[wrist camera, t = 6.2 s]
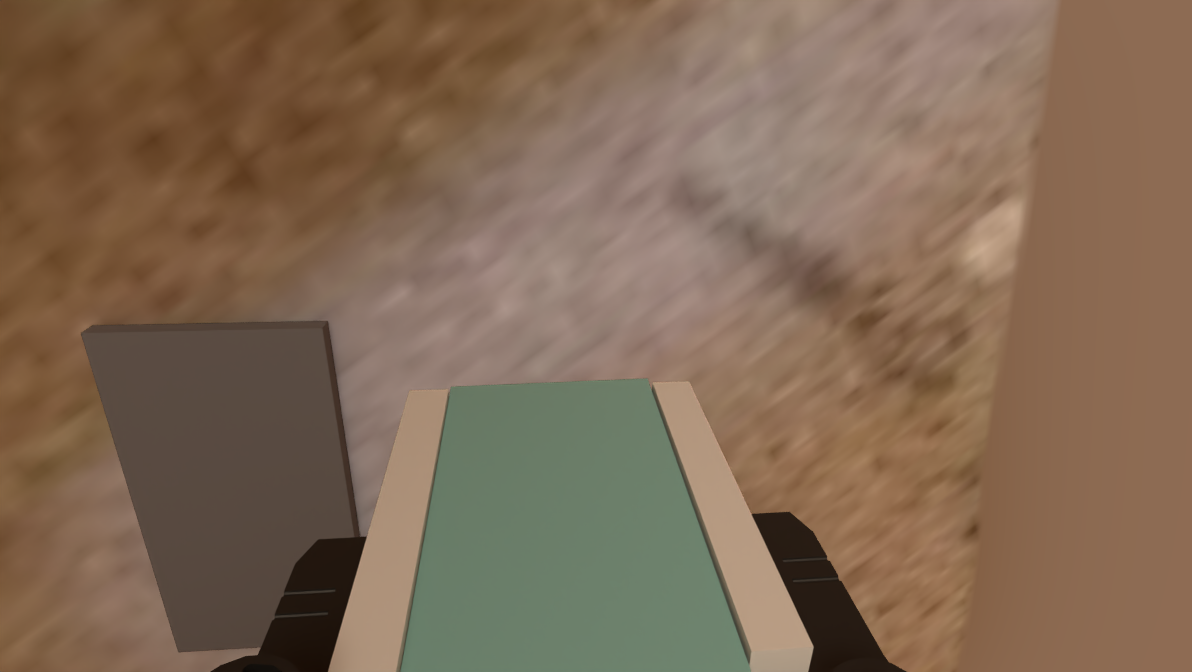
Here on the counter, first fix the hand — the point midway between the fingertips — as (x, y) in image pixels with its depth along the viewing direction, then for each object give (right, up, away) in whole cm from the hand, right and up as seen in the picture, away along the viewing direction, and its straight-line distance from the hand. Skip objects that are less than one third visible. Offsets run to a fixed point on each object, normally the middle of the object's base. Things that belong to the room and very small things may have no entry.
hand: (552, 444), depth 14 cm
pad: (-11, -3, +10) cm, 15 cm away
